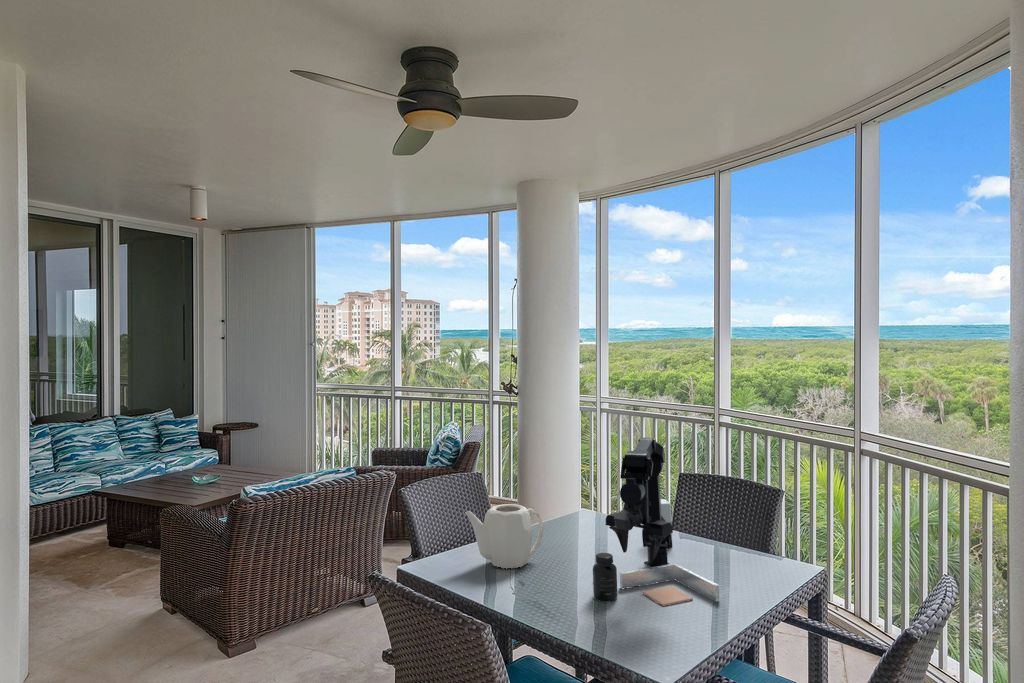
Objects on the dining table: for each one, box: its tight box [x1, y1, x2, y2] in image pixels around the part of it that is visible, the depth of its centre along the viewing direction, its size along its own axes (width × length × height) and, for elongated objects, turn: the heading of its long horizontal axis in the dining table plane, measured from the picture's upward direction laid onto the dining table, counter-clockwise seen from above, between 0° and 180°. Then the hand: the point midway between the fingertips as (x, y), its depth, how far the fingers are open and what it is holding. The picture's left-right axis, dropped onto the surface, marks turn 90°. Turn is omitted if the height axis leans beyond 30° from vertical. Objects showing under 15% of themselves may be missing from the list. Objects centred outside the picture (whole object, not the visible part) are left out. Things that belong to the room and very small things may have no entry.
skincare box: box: [661, 498, 673, 543], centre depth 221 cm, size 8×7×16 cm
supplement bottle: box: [592, 552, 618, 602], centre depth 173 cm, size 7×7×12 cm
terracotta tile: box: [641, 585, 693, 607], centre depth 173 cm, size 10×10×1 cm
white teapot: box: [464, 503, 544, 570], centre depth 203 cm, size 16×27×19 cm, turn 105°
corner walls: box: [619, 563, 720, 603], centre depth 174 cm, size 20×20×4 cm
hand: (638, 555), depth 168 cm, fingers open, 9 cm apart
